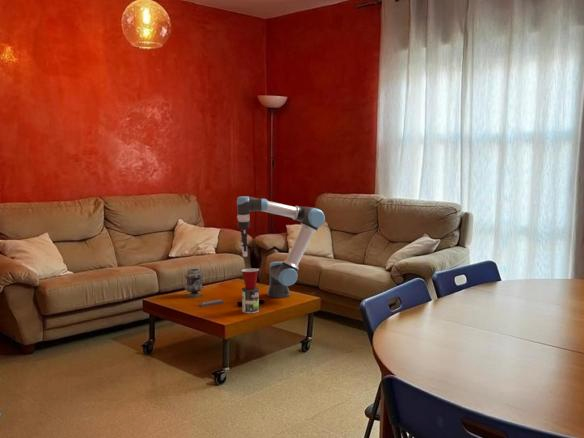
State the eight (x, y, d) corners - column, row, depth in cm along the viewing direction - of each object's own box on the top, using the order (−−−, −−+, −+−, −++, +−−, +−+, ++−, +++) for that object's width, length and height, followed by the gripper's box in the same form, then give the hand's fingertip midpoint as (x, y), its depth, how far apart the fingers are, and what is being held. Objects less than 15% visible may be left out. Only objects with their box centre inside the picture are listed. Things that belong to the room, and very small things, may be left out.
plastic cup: (252, 285, 342) (251, 266, 340) (262, 288, 334) (262, 269, 332) (237, 288, 335) (237, 268, 333) (248, 291, 326) (248, 271, 325)
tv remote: (220, 302, 358) (219, 299, 358) (223, 303, 354) (223, 300, 354) (199, 305, 349) (199, 302, 349) (202, 307, 345) (202, 304, 345)
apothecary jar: (204, 293, 379) (203, 267, 377) (202, 297, 367) (201, 271, 365) (186, 293, 378) (186, 267, 376) (183, 298, 366) (183, 271, 364)
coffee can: (262, 310, 337) (262, 288, 335) (251, 314, 329) (251, 291, 327) (249, 307, 343) (249, 285, 341) (238, 311, 335) (238, 288, 333)
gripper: (236, 218, 356) (237, 251, 358) (238, 223, 331) (239, 258, 334) (248, 218, 357) (249, 250, 359) (251, 223, 332) (251, 257, 335)
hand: (244, 254), depth 346 cm, fingers open, 13 cm apart
